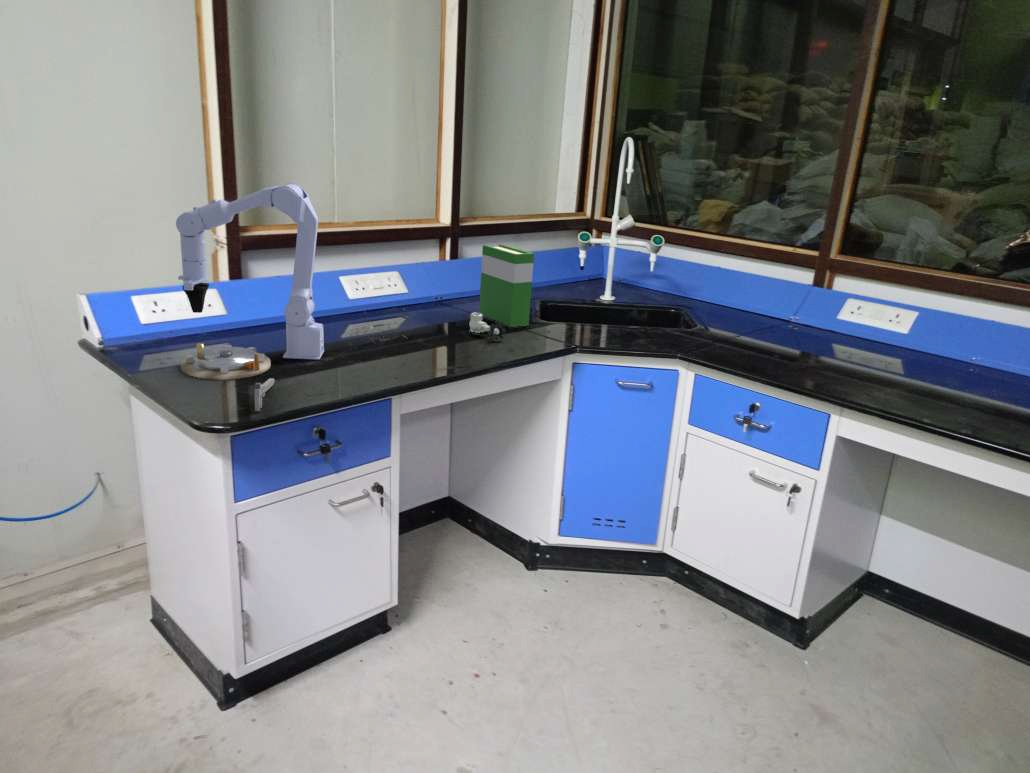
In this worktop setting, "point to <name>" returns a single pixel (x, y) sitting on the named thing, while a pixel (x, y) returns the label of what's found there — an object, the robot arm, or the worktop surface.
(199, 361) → the sprocket
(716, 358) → the worktop surface
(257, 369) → the mounting board
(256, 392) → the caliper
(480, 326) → the valve
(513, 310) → the hardback book
